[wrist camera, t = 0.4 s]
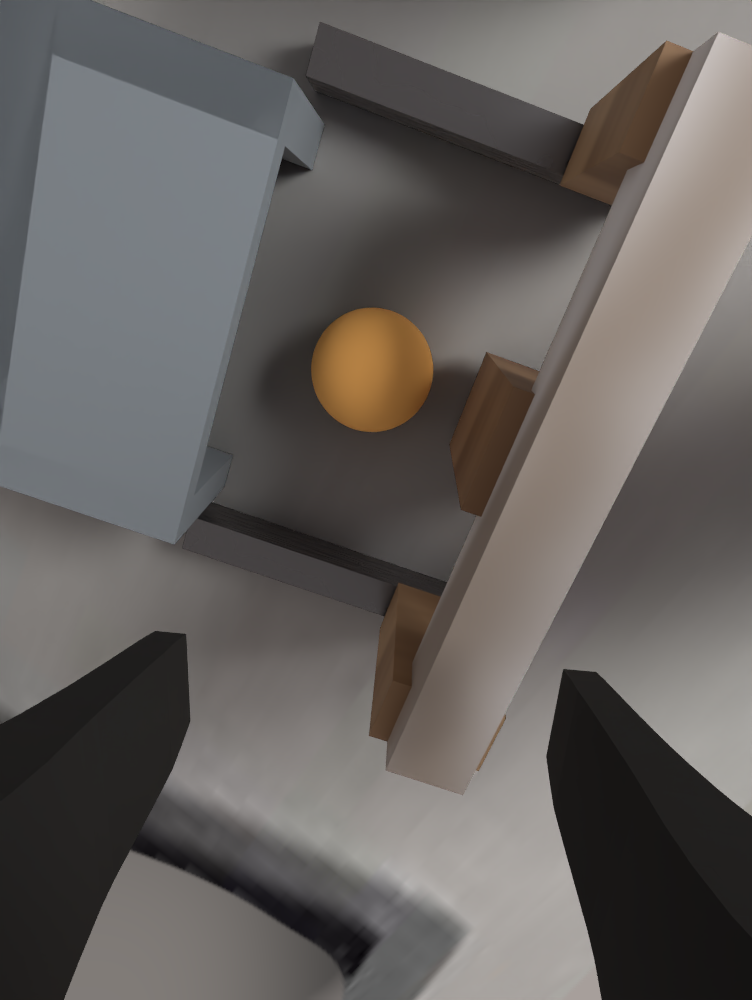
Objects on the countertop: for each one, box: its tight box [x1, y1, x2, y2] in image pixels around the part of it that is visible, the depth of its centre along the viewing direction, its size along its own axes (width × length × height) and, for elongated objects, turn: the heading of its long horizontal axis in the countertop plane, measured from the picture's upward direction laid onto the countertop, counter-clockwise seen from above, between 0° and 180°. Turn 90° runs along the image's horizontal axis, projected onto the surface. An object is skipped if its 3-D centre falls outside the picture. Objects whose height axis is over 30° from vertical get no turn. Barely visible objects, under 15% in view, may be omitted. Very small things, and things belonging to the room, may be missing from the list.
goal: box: [0, 0, 325, 544], centre depth 18 cm, size 6×11×5 cm, turn 161°
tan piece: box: [369, 32, 752, 795], centre depth 16 cm, size 3×16×7 cm, turn 161°
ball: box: [311, 308, 433, 432], centre depth 19 cm, size 4×4×4 cm
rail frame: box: [182, 22, 584, 616], centre depth 19 cm, size 10×15×2 cm, turn 161°
